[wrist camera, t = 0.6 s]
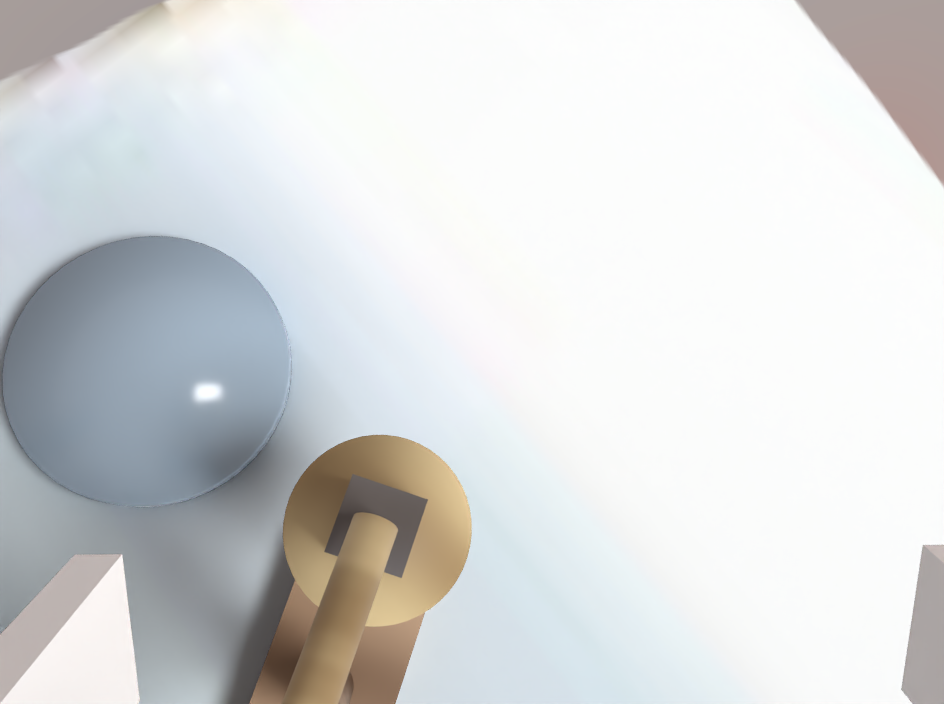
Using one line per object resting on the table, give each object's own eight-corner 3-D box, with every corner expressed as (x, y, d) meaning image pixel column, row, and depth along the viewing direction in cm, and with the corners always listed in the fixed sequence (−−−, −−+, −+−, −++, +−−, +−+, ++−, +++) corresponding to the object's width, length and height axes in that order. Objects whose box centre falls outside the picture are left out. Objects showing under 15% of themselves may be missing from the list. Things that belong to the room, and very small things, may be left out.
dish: (230, 545, 32) (225, 544, 31) (-36, 454, 32) (-50, 451, 31) (330, 294, 35) (328, 286, 34) (86, 210, 35) (77, 201, 34)
